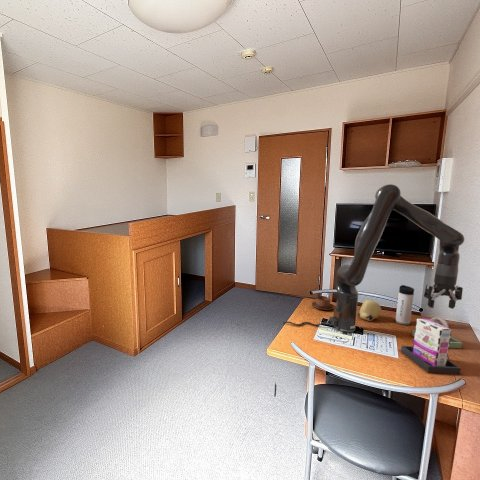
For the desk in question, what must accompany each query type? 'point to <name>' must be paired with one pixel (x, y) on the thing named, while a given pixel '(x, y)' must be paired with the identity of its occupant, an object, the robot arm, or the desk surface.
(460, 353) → the desk surface
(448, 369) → the charcoal tray
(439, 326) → the candy bar box
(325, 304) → the cup and saucer
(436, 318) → the watch
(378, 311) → the yellow quince
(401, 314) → the travel mug
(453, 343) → the sage tray
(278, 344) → the desk surface
